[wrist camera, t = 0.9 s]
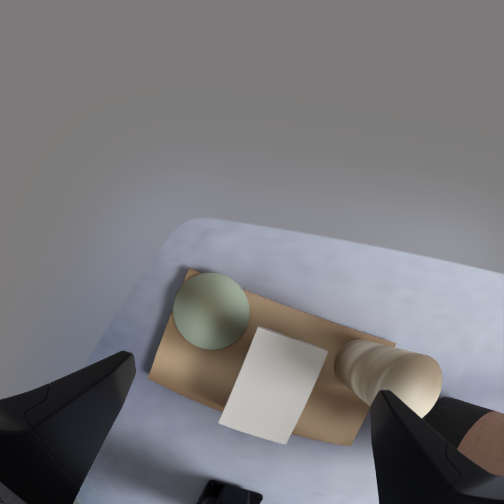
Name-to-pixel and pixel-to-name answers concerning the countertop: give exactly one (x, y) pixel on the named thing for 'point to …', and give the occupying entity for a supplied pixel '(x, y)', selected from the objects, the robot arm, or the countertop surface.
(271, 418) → the slab
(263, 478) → the countertop surface
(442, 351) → the countertop surface
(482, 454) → the travel mug
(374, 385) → the roller
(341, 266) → the countertop surface
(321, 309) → the countertop surface
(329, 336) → the wooden board
